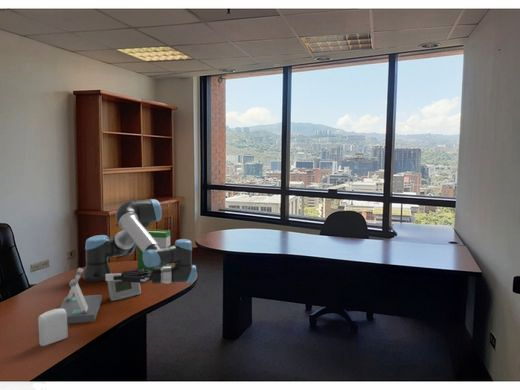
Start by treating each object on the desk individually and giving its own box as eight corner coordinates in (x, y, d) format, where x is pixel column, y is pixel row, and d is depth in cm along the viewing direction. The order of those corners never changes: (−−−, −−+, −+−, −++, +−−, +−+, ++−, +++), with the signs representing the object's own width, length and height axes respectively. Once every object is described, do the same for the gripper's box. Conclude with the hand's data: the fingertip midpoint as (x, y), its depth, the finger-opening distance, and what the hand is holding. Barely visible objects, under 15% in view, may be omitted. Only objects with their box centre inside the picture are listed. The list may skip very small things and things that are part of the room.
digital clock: (109, 302, 198) (109, 281, 197) (105, 296, 206) (105, 275, 205) (143, 296, 207) (143, 276, 206) (138, 291, 214) (138, 271, 213)
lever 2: (89, 307, 183) (76, 277, 180) (87, 312, 177) (74, 281, 175) (84, 309, 182) (71, 279, 179) (81, 314, 177) (68, 284, 174)
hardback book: (137, 270, 247) (137, 231, 244) (142, 267, 255) (142, 229, 252) (166, 272, 246) (166, 232, 243) (170, 268, 253) (170, 230, 250)
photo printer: (42, 347, 154) (40, 316, 153) (37, 343, 157) (35, 312, 155) (69, 338, 162) (68, 307, 160) (64, 334, 165) (63, 305, 163)
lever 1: (72, 297, 196) (84, 269, 195) (70, 302, 191) (82, 272, 190) (67, 296, 195) (78, 267, 195) (64, 300, 190) (76, 271, 189)
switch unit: (101, 300, 200) (101, 294, 200) (94, 321, 177) (94, 314, 177) (65, 302, 197) (65, 296, 196) (53, 324, 173) (53, 317, 173)
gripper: (161, 288, 180) (104, 291, 174) (161, 278, 192) (107, 280, 186) (161, 271, 179) (103, 274, 173) (161, 262, 191) (107, 264, 185)
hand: (105, 277), depth 180 cm, fingers closed
